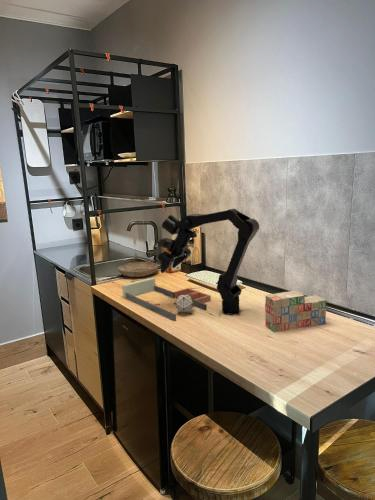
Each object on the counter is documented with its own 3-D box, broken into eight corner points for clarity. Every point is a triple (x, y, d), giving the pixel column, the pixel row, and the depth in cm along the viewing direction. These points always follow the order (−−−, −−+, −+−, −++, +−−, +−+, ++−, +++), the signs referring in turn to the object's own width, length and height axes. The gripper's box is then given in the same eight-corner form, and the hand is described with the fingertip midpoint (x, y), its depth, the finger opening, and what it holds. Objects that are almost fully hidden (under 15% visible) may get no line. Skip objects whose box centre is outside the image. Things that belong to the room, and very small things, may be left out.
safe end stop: (155, 290, 183) (155, 278, 182) (125, 298, 173) (124, 286, 172) (152, 289, 185) (152, 277, 184) (123, 297, 175) (122, 284, 173)
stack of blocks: (315, 318, 142) (316, 287, 140) (325, 324, 137) (327, 292, 134) (264, 326, 137) (265, 294, 134) (273, 333, 131) (273, 299, 128)
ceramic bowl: (167, 273, 213) (167, 265, 212) (133, 282, 198) (133, 273, 197) (143, 267, 230) (142, 259, 229) (110, 275, 214) (109, 266, 213)
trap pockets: (210, 300, 165) (210, 295, 165) (195, 305, 160) (195, 300, 159) (188, 292, 177) (188, 287, 177) (173, 297, 172) (173, 292, 171)
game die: (188, 319, 154) (201, 299, 155) (186, 320, 146) (199, 298, 147) (170, 308, 156) (183, 288, 157) (167, 308, 148) (180, 286, 148)
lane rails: (206, 310, 154) (206, 304, 154) (174, 321, 144) (174, 315, 144) (155, 290, 183) (155, 285, 183) (125, 298, 173) (125, 293, 172)
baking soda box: (176, 268, 223) (174, 242, 220) (183, 270, 218) (181, 243, 215) (163, 271, 217) (161, 244, 214) (170, 273, 212) (168, 246, 209)
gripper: (178, 227, 168) (165, 255, 174) (154, 234, 152) (141, 264, 158) (197, 241, 164) (183, 268, 171) (175, 249, 148) (160, 279, 155)
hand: (167, 270), depth 164 cm, fingers open, 9 cm apart
